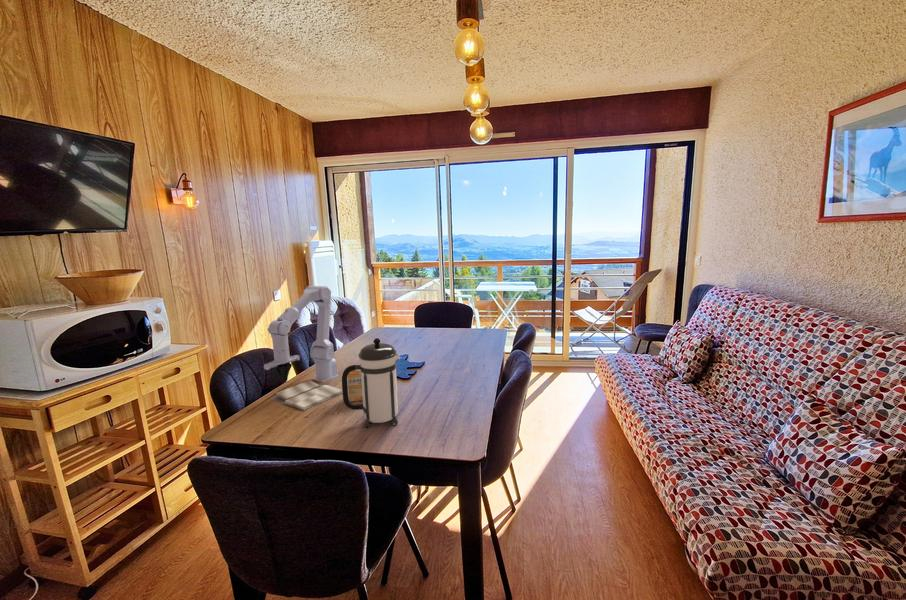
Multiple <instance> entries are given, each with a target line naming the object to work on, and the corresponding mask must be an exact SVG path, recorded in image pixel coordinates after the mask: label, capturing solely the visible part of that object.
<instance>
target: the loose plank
mask: <svg viewBox="0 0 906 600" xmlns="http://www.w3.org/2000/svg"><path fill="white" fill-rule="evenodd" d="M318 387H320V384H319V383H317V382H314V381H312V380H310V379H309V380H306V381H304V382H301V383H299V384H296V385H293V386H290V387H288V388H285V389H283V390H280V391H277V392H276V393H275V396H276V397H277V396H278V397H280V398H282V399H284V400H285V401H286V400H288V399H290V398H293V397H295V396H298V395H300V394H303V393H305V392H308V391H310V390H313V389H315V388H318Z"/></svg>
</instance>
